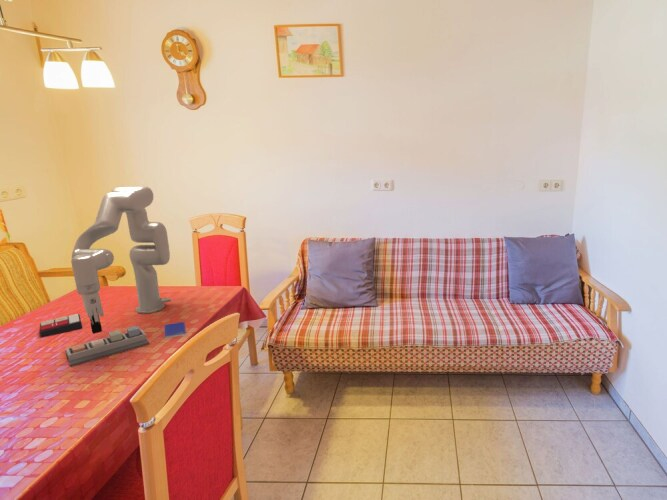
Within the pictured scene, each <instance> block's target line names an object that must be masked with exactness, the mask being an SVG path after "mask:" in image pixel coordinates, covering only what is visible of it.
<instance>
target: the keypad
mask: <svg viewBox="0 0 667 500" xmlns="http://www.w3.org/2000/svg"><path fill="white" fill-rule="evenodd" d="M139 329H140V334H139V335H136V336H132V337H129V336H128V334H127V331H126V332H124V333H123V332H122V337H123V339H121V340H117V341H114V342H111V340H110V338H109V336H107V337H105V338H104V337H103V338H102V339H103V341H104V343H105V345H102V346H98V347H95V348H92V346H91V341H88V342H85V343H83V344H84V346H85V349H86V350H84V351H80V352H76V353H72V348H71V347H72V346H69V347H66V348H65V350H64V352H65V355H66V359H67V360H68V362H69V365H70V366H69V367H74V366H77V365H82V364H85V363H88V362H92V361H96V360H99V359H102V358H105V357H106V358H107V357H109V356H113V355H117V354H119V353H122V352H127V351H130V350H134V349H137V348H140V347H144V346H148V345H150V341H149V340H148V339H147V334H146V333H145V332H144V330H143V329H142V328H139ZM116 353H117V354H116ZM112 354H113V355H112Z"/></svg>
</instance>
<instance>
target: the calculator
mask: <svg viewBox="0 0 667 500" xmlns="http://www.w3.org/2000/svg"><path fill="white" fill-rule="evenodd" d="M79 330H83V324H82V319H81V315H80V313H74V314H71V315H64V316H60V317H56V318H53V319H48V320H44V321H41V322H40V323H39V333H40V334H39V335H40V338H45V337H50V336H54V335H59V334H62V333H67V332H74V331H79Z"/></svg>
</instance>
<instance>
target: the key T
mask: <svg viewBox="0 0 667 500" xmlns="http://www.w3.org/2000/svg"><path fill="white" fill-rule="evenodd" d="M125 328H126V332H127V334H128V336H129V337H132V336H136V335H139V334H140V329H141V328H140V327H139V326H138V324H137V325H133V326H130V327H125Z"/></svg>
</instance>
